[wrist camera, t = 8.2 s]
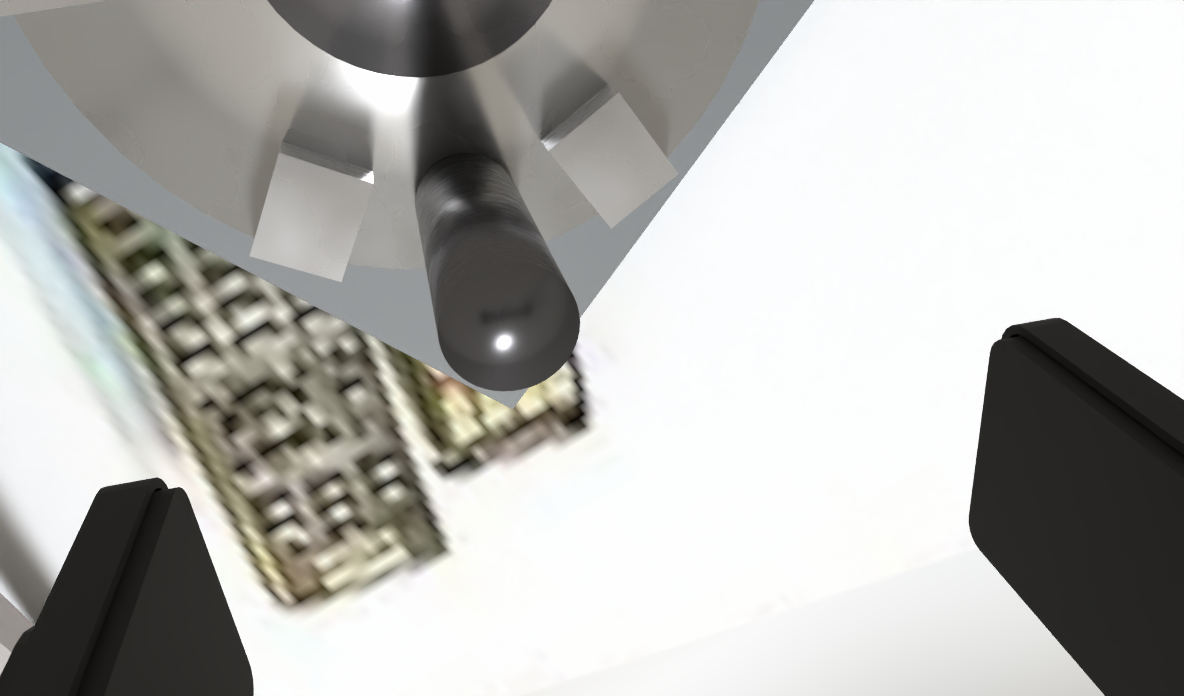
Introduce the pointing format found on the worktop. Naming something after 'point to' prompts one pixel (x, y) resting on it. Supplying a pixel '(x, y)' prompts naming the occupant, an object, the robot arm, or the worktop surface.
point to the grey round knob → (405, 134)
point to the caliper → (10, 629)
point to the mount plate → (366, 294)
